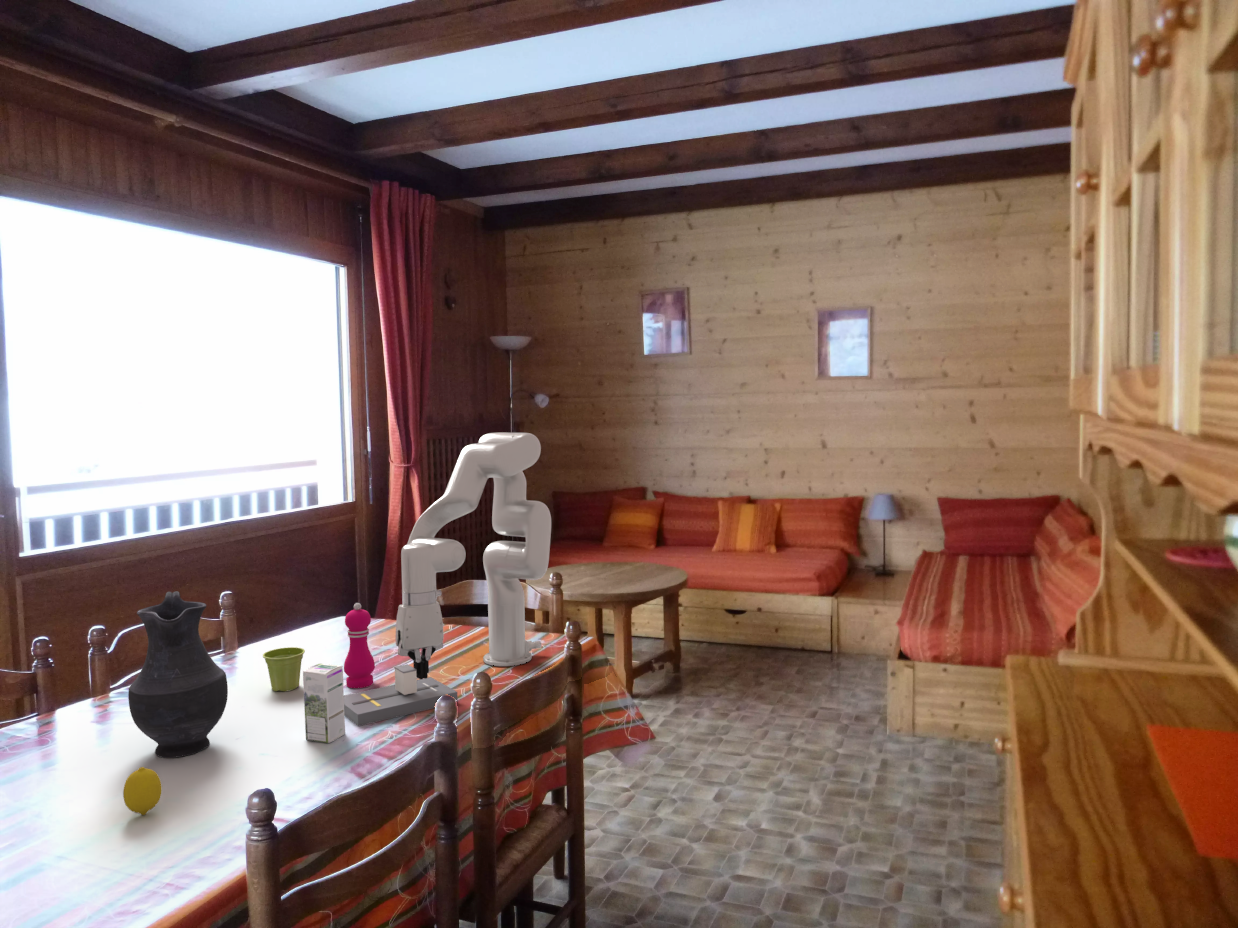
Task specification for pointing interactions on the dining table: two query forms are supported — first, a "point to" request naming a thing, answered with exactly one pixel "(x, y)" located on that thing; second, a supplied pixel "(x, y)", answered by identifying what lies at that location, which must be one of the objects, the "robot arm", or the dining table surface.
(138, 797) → the lemon
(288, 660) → the plant pot
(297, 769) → the dining table surface
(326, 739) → the syrup box
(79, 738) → the dining table surface
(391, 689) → the console
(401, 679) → the block
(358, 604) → the pepper mill
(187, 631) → the pitcher
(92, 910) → the dining table surface
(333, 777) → the dining table surface
